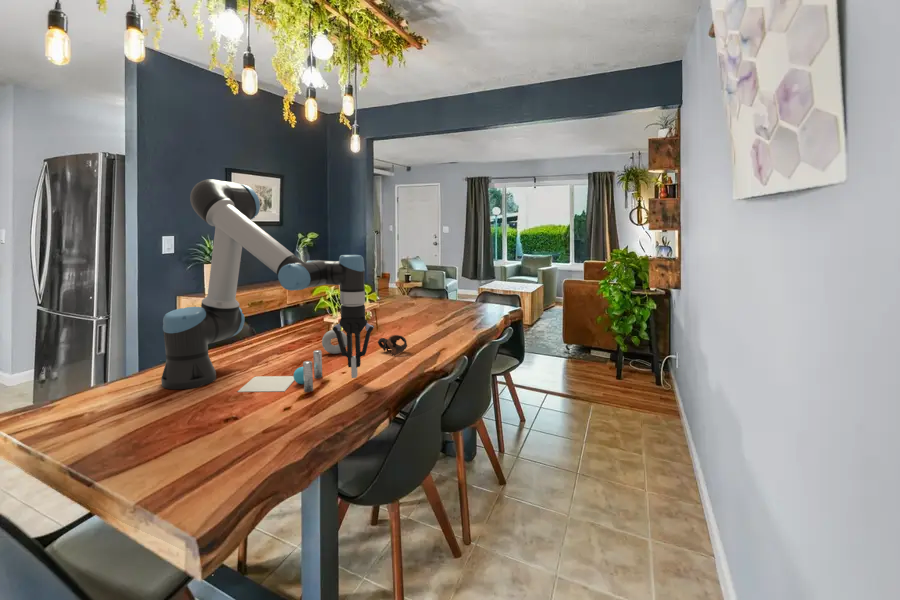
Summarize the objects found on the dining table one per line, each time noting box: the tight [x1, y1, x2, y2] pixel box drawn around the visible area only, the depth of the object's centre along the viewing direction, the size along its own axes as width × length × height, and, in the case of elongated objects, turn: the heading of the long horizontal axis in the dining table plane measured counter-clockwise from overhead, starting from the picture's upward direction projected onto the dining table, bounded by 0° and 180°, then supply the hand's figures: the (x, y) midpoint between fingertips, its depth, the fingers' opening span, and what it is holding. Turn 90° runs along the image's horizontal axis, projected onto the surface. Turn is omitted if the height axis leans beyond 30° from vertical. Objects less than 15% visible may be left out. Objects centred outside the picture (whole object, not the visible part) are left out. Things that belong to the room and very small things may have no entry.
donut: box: [321, 329, 347, 355], centre depth 174 cm, size 10×4×10 cm, turn 104°
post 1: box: [302, 360, 314, 393], centre depth 134 cm, size 3×3×9 cm
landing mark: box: [237, 375, 295, 393], centre depth 140 cm, size 14×14×1 cm
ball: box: [292, 366, 304, 385], centre depth 140 cm, size 6×6×6 cm
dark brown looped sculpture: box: [377, 334, 408, 356], centre depth 177 cm, size 12×10×8 cm
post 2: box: [312, 349, 323, 379], centre depth 146 cm, size 3×3×9 cm
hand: (354, 376), depth 141 cm, fingers closed
